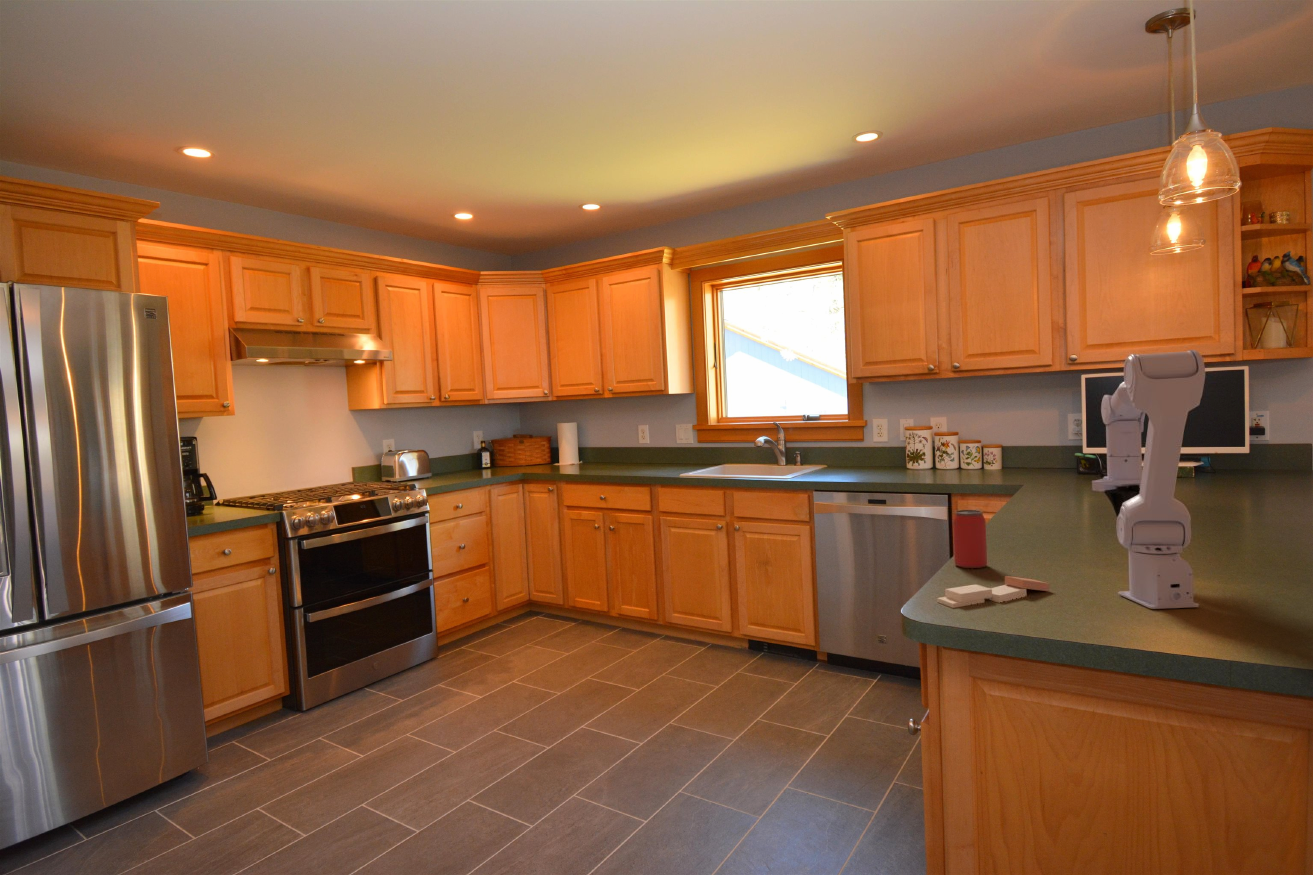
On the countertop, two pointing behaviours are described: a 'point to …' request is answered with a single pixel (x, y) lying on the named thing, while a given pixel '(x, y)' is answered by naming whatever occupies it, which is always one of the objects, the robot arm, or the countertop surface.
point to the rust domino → (1027, 583)
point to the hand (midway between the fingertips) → (1125, 524)
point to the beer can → (969, 539)
